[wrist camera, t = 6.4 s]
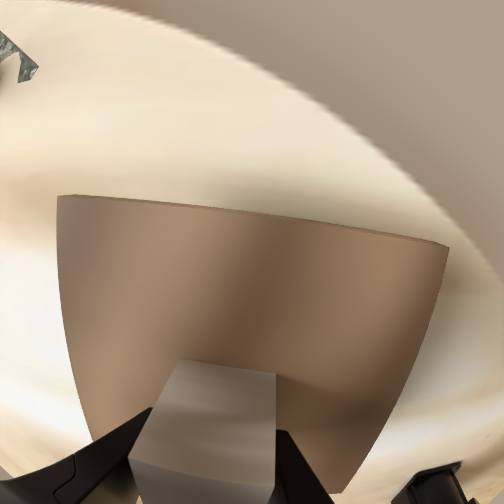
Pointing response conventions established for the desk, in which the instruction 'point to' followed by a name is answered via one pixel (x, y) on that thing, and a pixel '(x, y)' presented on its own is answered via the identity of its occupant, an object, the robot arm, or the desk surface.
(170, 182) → the desk surface
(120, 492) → the robot arm
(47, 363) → the desk surface
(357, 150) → the desk surface
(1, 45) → the eiffel tower figurine
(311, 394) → the lid
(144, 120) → the desk surface
